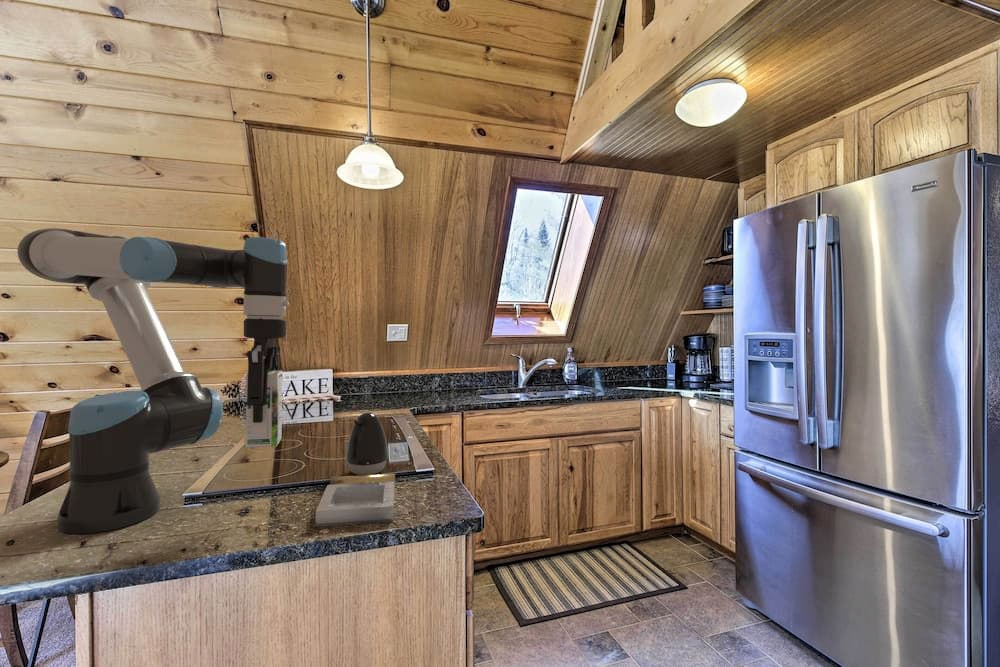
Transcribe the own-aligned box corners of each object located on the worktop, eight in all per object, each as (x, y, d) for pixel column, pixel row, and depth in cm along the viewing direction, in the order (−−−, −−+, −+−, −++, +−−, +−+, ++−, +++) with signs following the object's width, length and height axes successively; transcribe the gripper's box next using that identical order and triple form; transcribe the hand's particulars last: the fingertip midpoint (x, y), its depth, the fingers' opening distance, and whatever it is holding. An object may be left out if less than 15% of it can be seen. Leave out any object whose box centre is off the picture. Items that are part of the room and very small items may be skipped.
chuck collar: (315, 527, 88) (315, 511, 88) (327, 498, 102) (327, 484, 102) (392, 521, 91) (393, 506, 91) (394, 494, 105) (394, 481, 105)
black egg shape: (336, 477, 115) (336, 415, 115) (361, 464, 125) (361, 407, 125) (373, 482, 113) (373, 418, 112) (395, 469, 122) (396, 410, 122)
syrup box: (244, 448, 91) (245, 373, 90) (251, 440, 97) (252, 369, 96) (276, 447, 93) (277, 373, 92) (282, 439, 98) (283, 369, 98)
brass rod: (330, 492, 105) (330, 479, 105) (332, 487, 108) (332, 474, 108) (394, 489, 108) (394, 476, 108) (394, 484, 111) (395, 471, 111)
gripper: (272, 319, 85) (271, 446, 86) (296, 317, 104) (294, 422, 104) (226, 317, 84) (225, 447, 84) (259, 316, 102) (257, 423, 103)
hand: (264, 433), depth 94 cm, fingers closed on syrup box, 6 cm apart
